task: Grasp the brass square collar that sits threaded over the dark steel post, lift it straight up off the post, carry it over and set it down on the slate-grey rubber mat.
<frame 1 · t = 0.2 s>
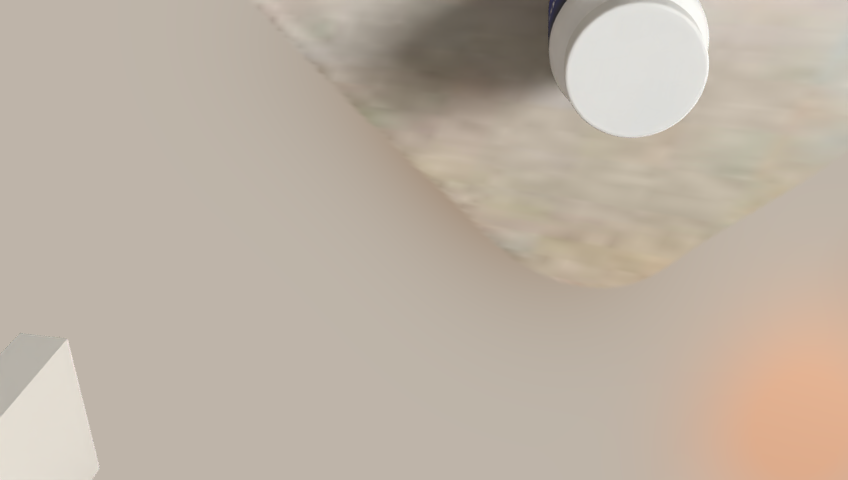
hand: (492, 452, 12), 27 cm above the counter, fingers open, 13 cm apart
pill bottle 2: (612, 1, 35), on the counter
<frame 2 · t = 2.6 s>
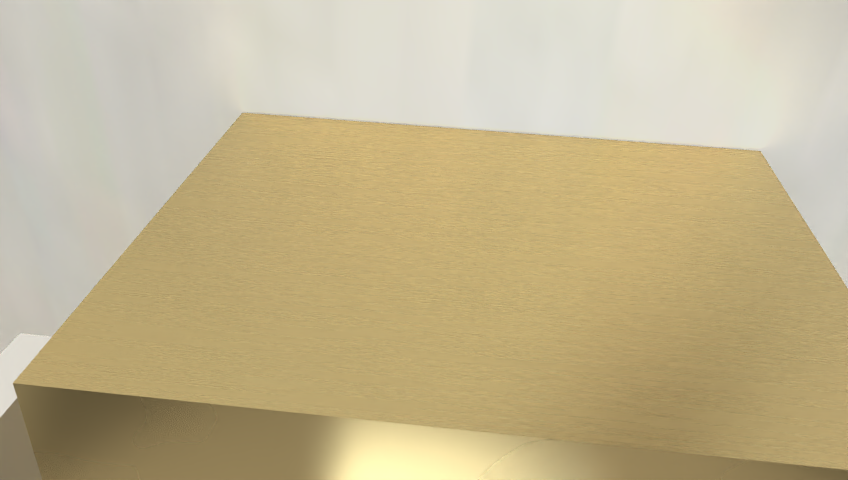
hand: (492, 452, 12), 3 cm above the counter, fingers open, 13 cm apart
collar: (477, 337, 14), on the counter
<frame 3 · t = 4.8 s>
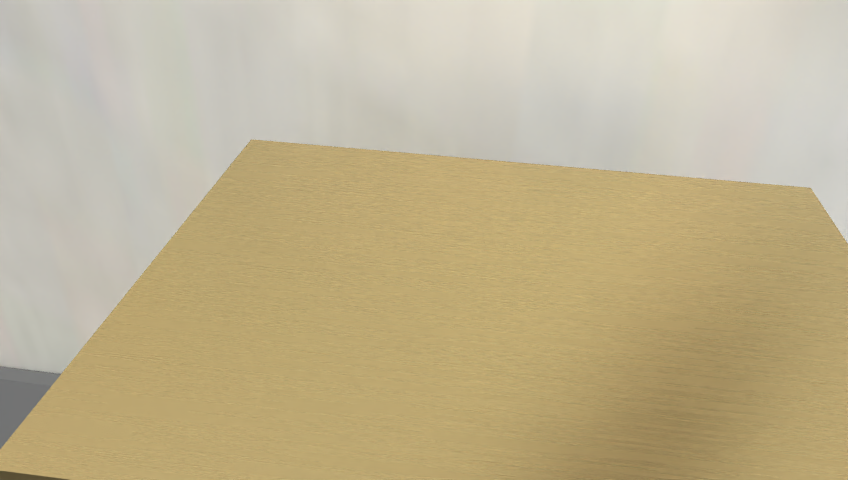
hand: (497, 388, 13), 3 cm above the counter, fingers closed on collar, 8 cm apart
collar: (498, 377, 13), point 2 cm above the counter, touching gripper
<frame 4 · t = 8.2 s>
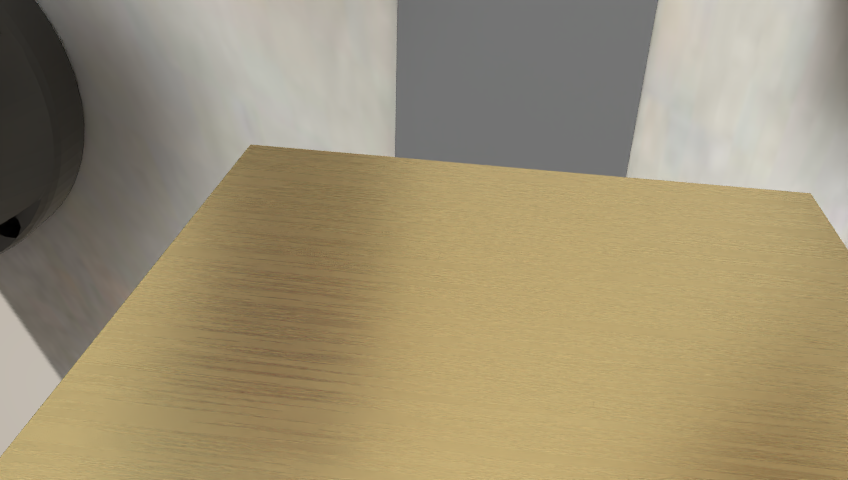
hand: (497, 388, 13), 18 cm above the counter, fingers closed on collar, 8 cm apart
mat: (519, 55, 29), on the counter
collar: (497, 382, 13), point 18 cm above the counter, touching gripper
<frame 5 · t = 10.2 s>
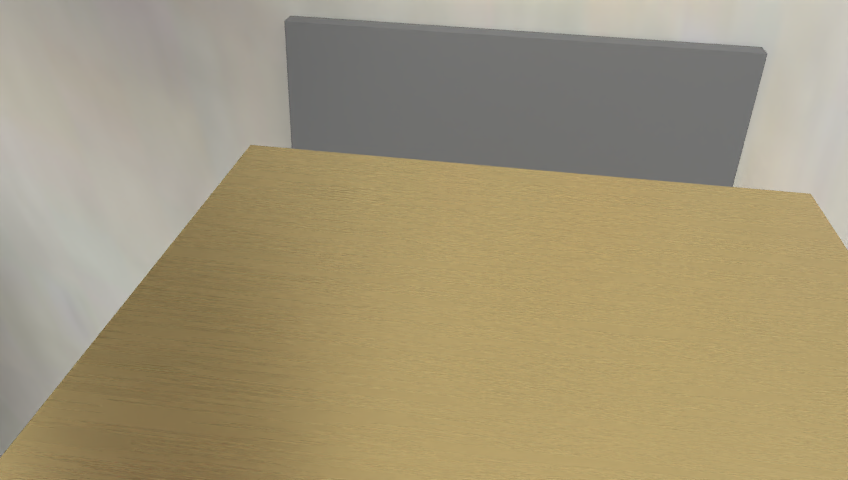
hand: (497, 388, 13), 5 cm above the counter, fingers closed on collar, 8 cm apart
mat: (500, 234, 17), on the counter
collar: (497, 382, 13), point 5 cm above the counter, touching gripper
when the fingers open (1 cm above the counter, at t = 11.7 s): collar stays where it is, resting on mat.
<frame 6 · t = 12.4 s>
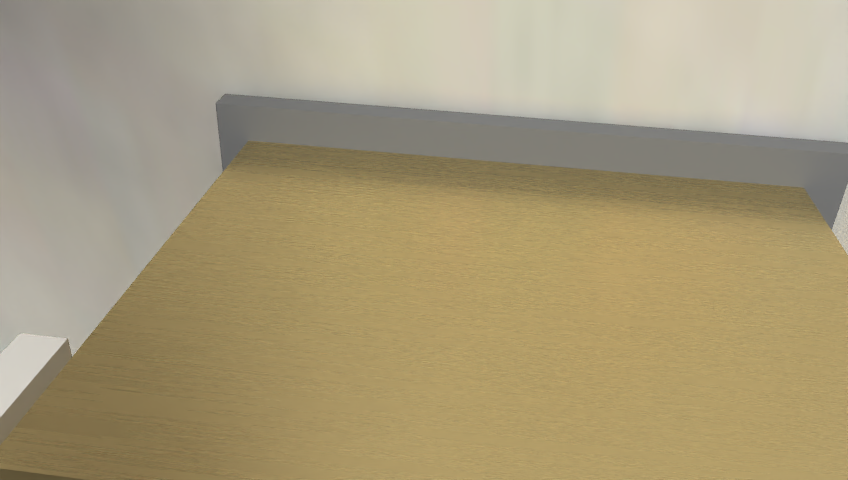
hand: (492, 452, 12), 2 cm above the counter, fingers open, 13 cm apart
mat: (499, 360, 14), on the counter
collar: (494, 376, 13), resting on mat
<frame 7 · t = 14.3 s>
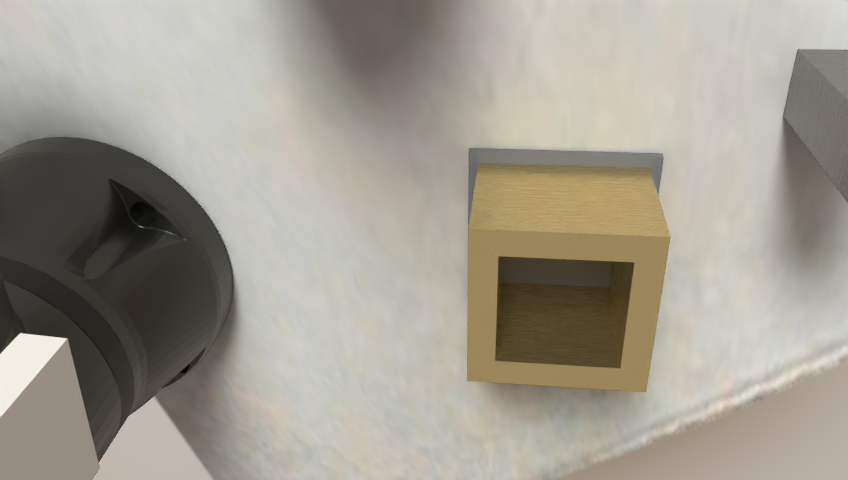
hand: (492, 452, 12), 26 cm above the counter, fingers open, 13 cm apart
mat: (558, 233, 39), on the counter
collar: (557, 238, 39), resting on mat
post: (826, 83, 34), on the counter
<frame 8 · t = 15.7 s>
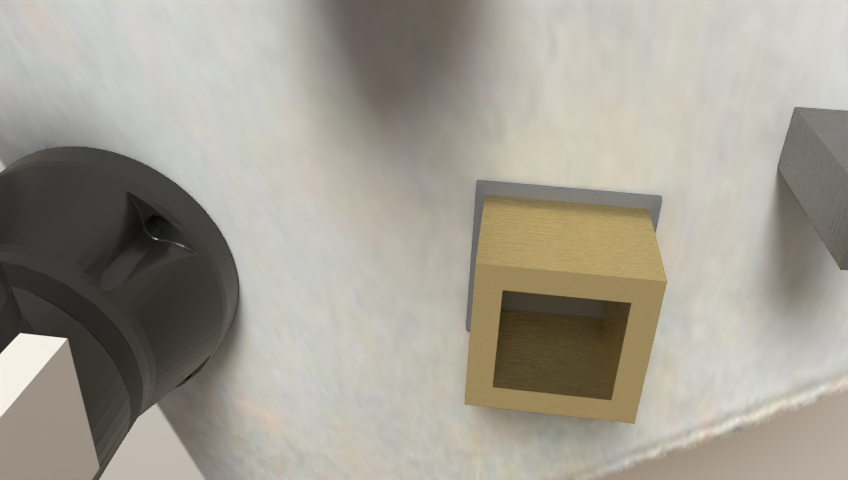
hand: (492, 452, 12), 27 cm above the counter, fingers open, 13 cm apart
mat: (557, 264, 41), on the counter
collar: (556, 269, 41), resting on mat
post: (820, 140, 36), on the counter
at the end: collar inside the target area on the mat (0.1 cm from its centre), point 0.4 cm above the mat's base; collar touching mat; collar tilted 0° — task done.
